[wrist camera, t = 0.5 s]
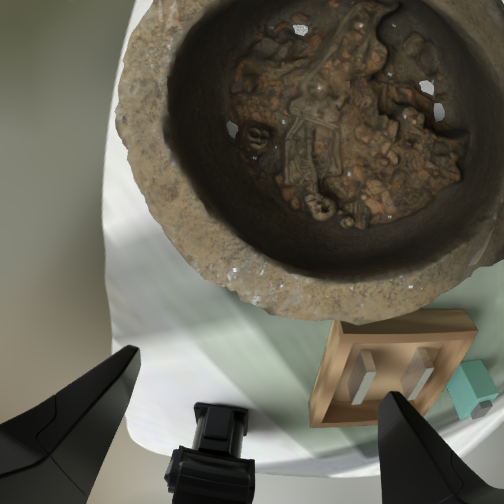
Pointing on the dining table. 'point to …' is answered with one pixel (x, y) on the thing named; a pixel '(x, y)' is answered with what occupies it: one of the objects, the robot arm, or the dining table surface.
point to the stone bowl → (321, 147)
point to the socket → (410, 380)
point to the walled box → (387, 362)
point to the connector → (472, 389)
